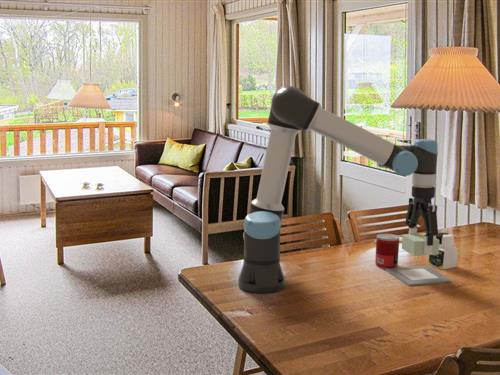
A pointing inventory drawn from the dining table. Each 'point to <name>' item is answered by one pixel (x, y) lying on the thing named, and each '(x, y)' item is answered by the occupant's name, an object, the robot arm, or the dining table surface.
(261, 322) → the dining table surface
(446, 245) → the medicine bottle
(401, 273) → the plate
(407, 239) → the block
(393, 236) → the canned food
